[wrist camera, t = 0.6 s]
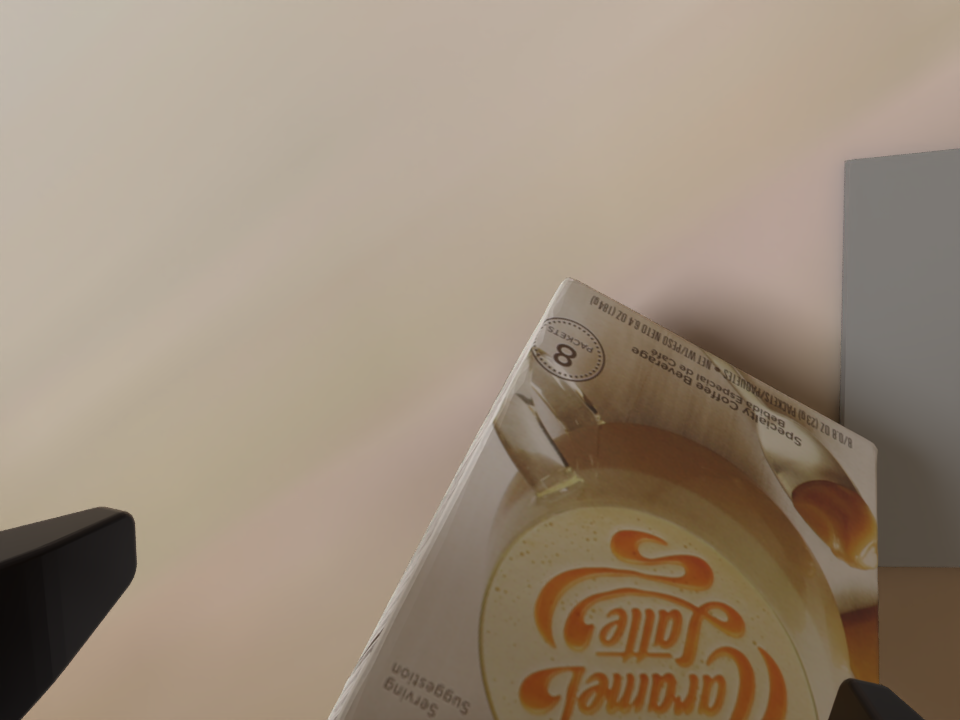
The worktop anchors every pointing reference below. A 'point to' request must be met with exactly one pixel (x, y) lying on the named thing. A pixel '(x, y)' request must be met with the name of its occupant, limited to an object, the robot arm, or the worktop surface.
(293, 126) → the worktop surface
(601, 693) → the coffee box
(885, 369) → the mat
